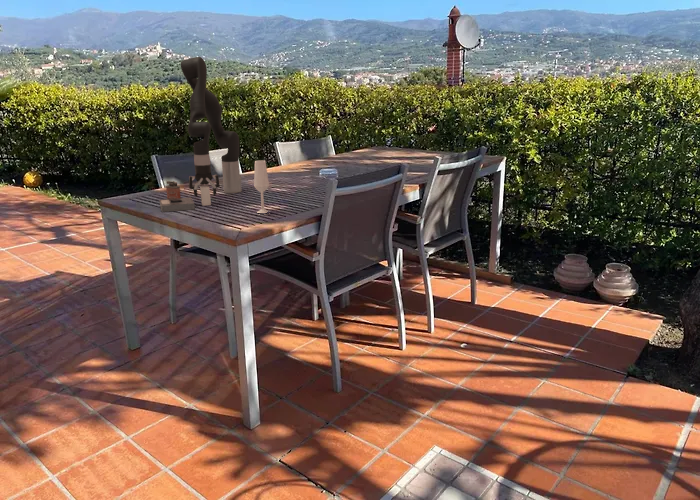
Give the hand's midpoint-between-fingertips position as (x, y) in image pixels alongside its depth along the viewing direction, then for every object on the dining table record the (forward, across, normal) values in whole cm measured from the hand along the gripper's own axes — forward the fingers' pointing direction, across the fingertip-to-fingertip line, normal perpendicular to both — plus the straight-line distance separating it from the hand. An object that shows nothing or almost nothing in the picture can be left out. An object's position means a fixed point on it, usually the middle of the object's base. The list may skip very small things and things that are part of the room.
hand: (205, 196), depth 253 cm
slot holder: (+4, +14, +2) cm, 15 cm away
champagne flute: (+4, -22, +29) cm, 37 cm away
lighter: (+4, +14, -17) cm, 22 cm away
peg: (+4, 0, 0) cm, 4 cm away
